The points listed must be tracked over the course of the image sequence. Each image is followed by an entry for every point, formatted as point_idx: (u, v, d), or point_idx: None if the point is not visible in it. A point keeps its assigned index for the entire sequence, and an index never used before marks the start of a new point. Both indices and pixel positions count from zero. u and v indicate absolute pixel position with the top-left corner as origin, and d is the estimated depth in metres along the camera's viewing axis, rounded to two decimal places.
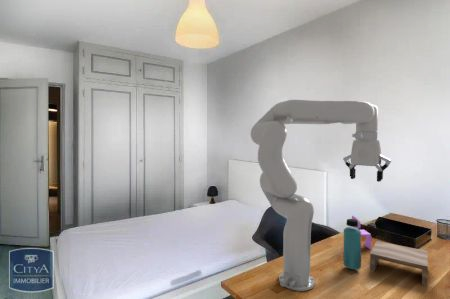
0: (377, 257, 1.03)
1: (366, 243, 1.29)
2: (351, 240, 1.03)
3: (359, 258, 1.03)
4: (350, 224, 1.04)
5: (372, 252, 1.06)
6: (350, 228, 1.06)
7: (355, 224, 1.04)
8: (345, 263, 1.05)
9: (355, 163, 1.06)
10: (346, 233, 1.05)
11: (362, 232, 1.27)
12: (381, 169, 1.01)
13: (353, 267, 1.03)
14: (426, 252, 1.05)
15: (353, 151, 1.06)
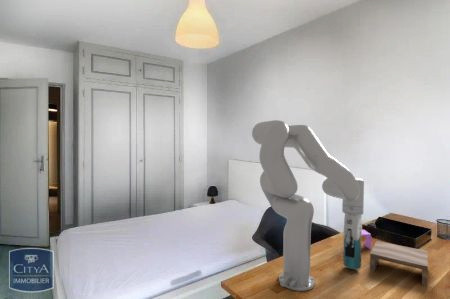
0: (377, 257, 1.03)
1: (366, 243, 1.29)
2: None
3: (359, 258, 1.04)
4: None
5: (372, 252, 1.06)
6: None
7: None
8: (345, 263, 1.05)
9: (358, 239, 1.02)
10: None
11: (362, 232, 1.27)
12: None
13: (353, 267, 1.03)
14: (426, 252, 1.05)
15: (357, 227, 1.01)
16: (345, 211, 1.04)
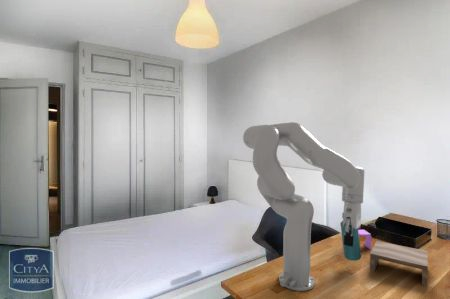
0: (377, 257, 1.03)
1: (366, 243, 1.29)
2: None
3: (358, 249, 1.04)
4: None
5: (372, 252, 1.06)
6: None
7: None
8: (345, 255, 1.06)
9: (357, 227, 1.01)
10: (342, 227, 1.04)
11: (362, 232, 1.27)
12: None
13: (353, 259, 1.04)
14: (426, 252, 1.05)
15: (357, 215, 1.01)
16: (345, 200, 1.04)
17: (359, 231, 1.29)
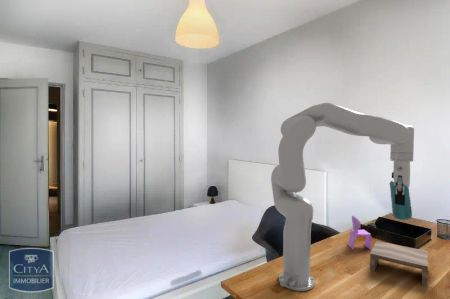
0: (377, 257, 1.03)
1: (366, 243, 1.29)
2: None
3: (409, 208, 1.03)
4: None
5: (372, 252, 1.06)
6: None
7: None
8: (395, 215, 1.06)
9: (408, 185, 1.01)
10: (393, 186, 1.03)
11: (362, 232, 1.27)
12: None
13: (404, 218, 1.03)
14: (426, 252, 1.05)
15: (408, 173, 1.00)
16: (394, 159, 1.03)
17: (359, 231, 1.29)
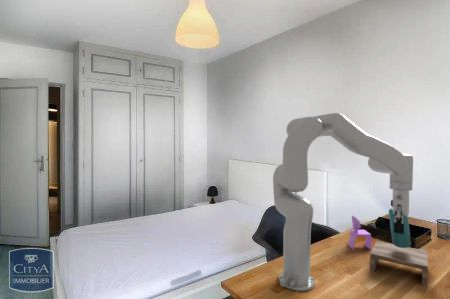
0: (377, 257, 1.03)
1: (366, 243, 1.29)
2: None
3: (408, 236, 1.03)
4: None
5: (372, 252, 1.06)
6: None
7: None
8: (394, 243, 1.06)
9: (407, 214, 1.01)
10: (392, 214, 1.04)
11: (362, 232, 1.27)
12: None
13: (403, 246, 1.04)
14: (426, 252, 1.05)
15: (407, 202, 1.00)
16: (394, 187, 1.03)
17: (359, 231, 1.29)
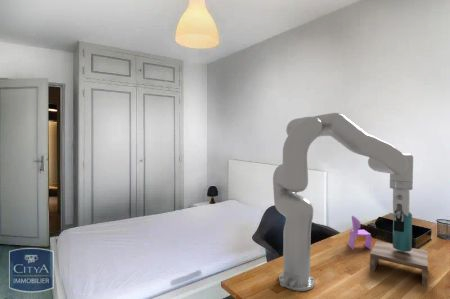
0: (377, 257, 1.03)
1: (366, 243, 1.29)
2: None
3: (410, 240, 1.03)
4: (401, 206, 1.04)
5: (372, 252, 1.06)
6: None
7: None
8: (395, 245, 1.05)
9: (408, 214, 1.01)
10: None
11: (362, 232, 1.27)
12: None
13: (404, 249, 1.03)
14: (426, 252, 1.05)
15: (408, 202, 1.00)
16: (394, 187, 1.03)
17: (359, 231, 1.29)
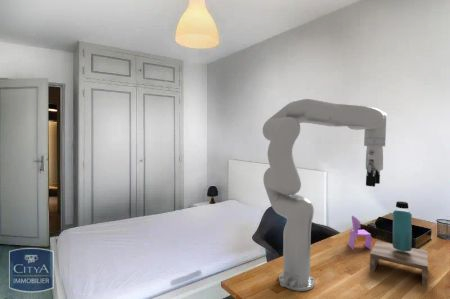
0: (377, 257, 1.03)
1: (366, 243, 1.29)
2: (402, 222, 1.03)
3: (410, 240, 1.03)
4: (400, 206, 1.04)
5: (372, 252, 1.06)
6: (400, 210, 1.06)
7: (406, 206, 1.03)
8: (395, 245, 1.05)
9: (379, 169, 1.04)
10: (396, 215, 1.05)
11: (362, 232, 1.27)
12: None
13: (404, 249, 1.03)
14: (426, 252, 1.05)
15: (379, 157, 1.04)
16: (367, 144, 1.07)
17: (359, 231, 1.29)
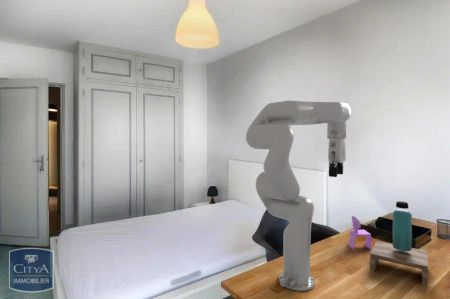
0: (377, 257, 1.03)
1: (366, 243, 1.29)
2: (402, 222, 1.03)
3: (410, 240, 1.03)
4: (400, 206, 1.04)
5: (372, 252, 1.06)
6: (400, 210, 1.05)
7: (406, 206, 1.03)
8: (395, 245, 1.05)
9: (341, 161, 1.10)
10: (396, 215, 1.04)
11: (362, 232, 1.27)
12: None
13: (404, 249, 1.03)
14: (426, 252, 1.05)
15: (340, 149, 1.09)
16: (329, 137, 1.12)
17: (359, 231, 1.29)
